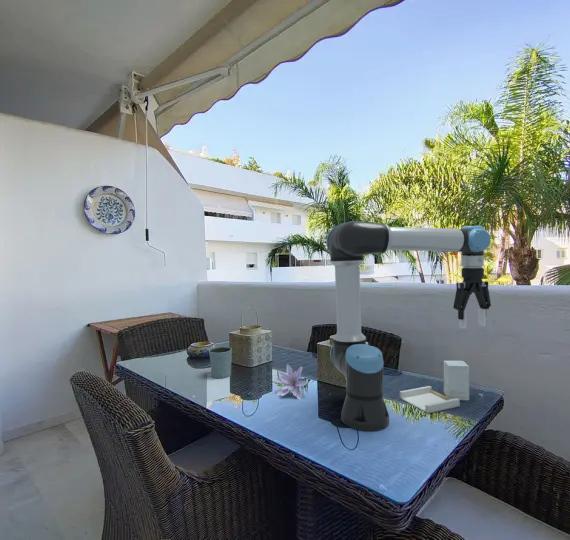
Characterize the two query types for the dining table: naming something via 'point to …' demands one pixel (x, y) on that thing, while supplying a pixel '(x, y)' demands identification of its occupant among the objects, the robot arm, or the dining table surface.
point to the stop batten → (440, 395)
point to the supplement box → (456, 380)
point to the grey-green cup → (220, 362)
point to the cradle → (427, 400)
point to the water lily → (290, 382)
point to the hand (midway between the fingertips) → (472, 326)
